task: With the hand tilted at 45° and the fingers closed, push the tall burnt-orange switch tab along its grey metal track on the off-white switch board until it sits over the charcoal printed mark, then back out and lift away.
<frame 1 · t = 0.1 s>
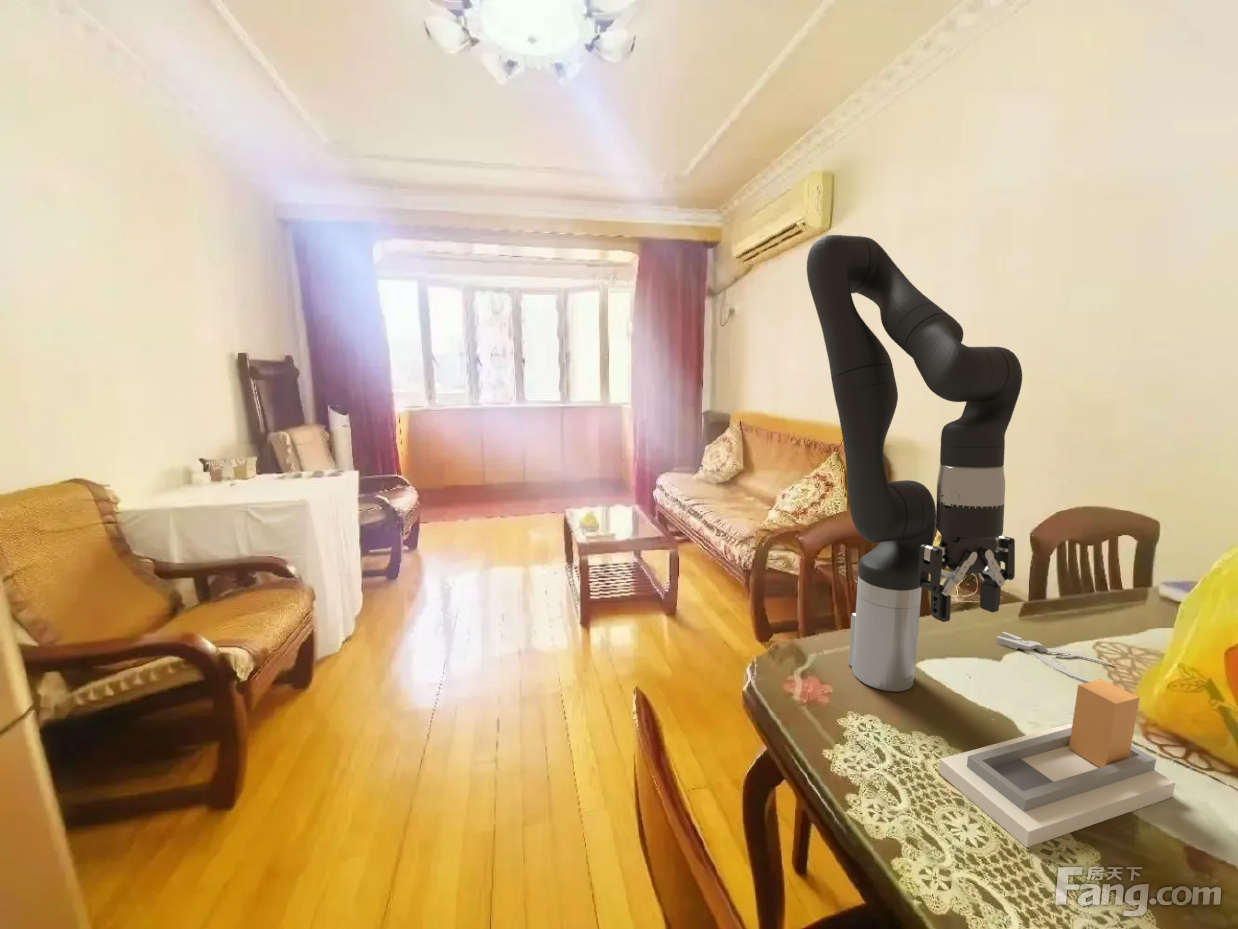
hand: (965, 614, 71), 17 cm above the table, tool pointing down, fingers open, 8 cm apart
switch tab: (1102, 723, 64), point 7 cm above the table, slide at 0.0 cm
switch board: (1051, 784, 64), on the table
pliers: (1048, 659, 91), on the table
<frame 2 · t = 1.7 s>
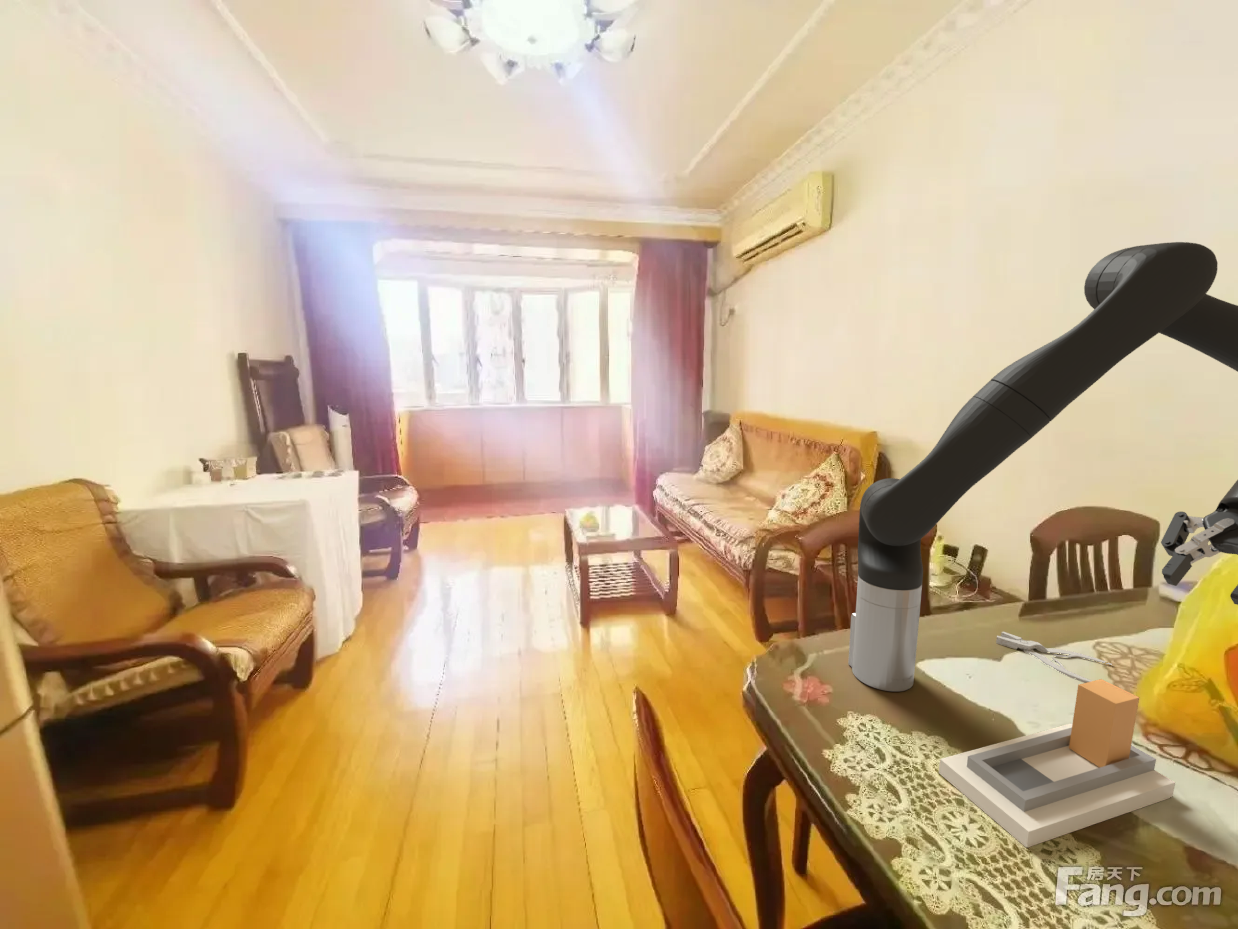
hand: (1201, 590, 65), 22 cm above the table, tool tilted 45°, fingers open, 5 cm apart
nothing on the table moved.
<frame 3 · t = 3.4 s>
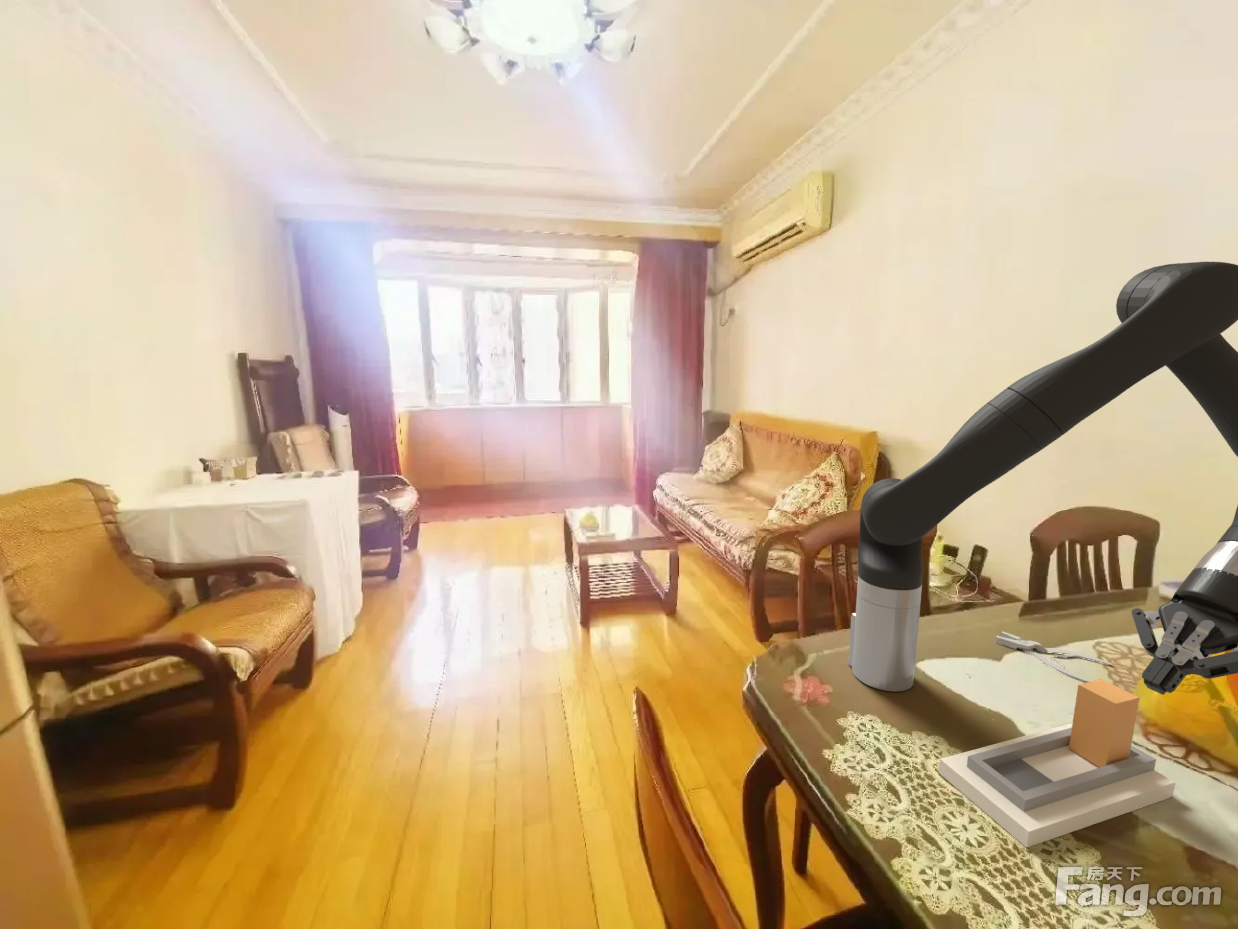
hand: (1153, 688, 66), 10 cm above the table, tool tilted 45°, fingers closed
nothing on the table moved.
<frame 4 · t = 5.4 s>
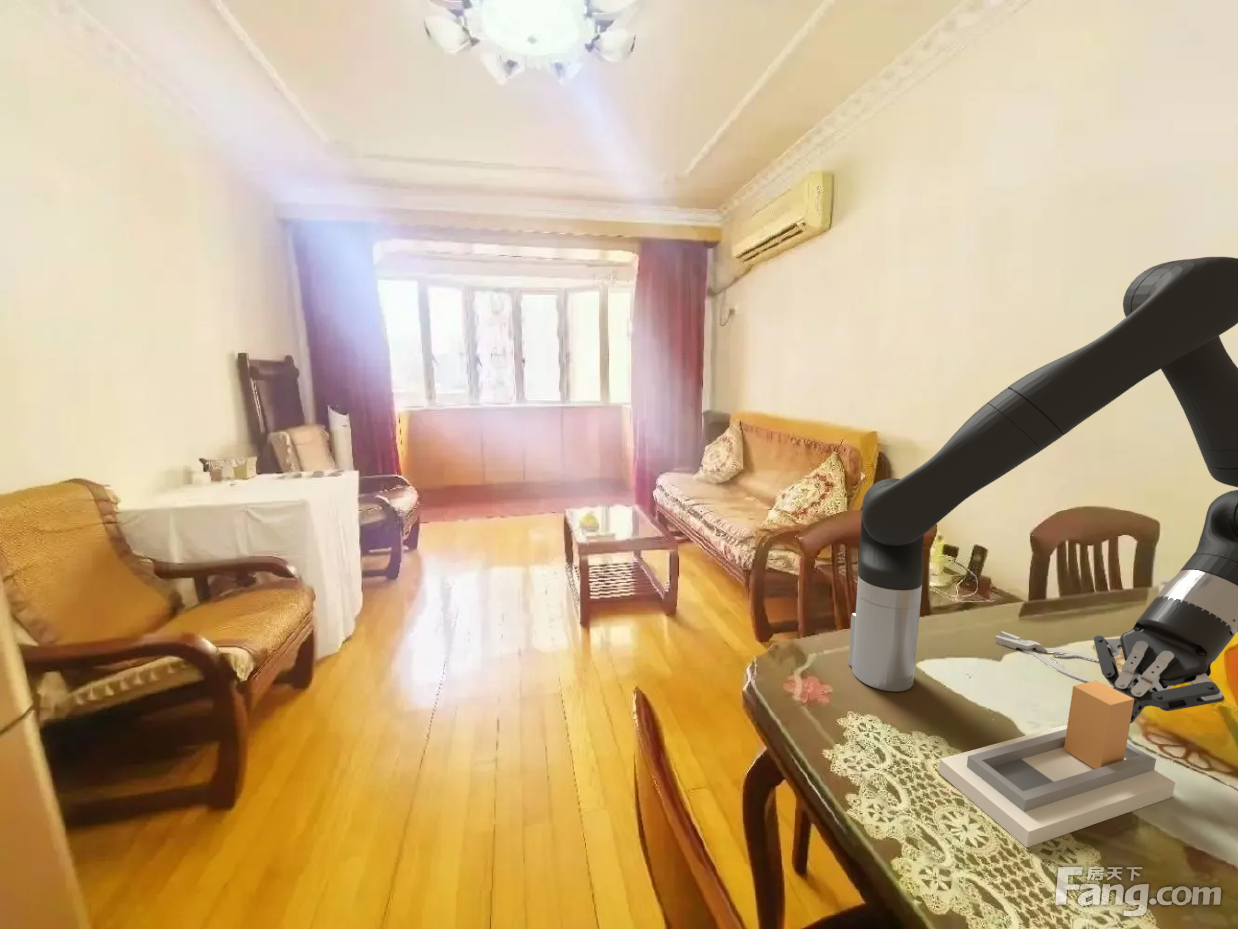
hand: (1111, 719, 65), 7 cm above the table, tool tilted 45°, fingers closed
switch tab: (1097, 725, 64), point 7 cm above the table, slide at 0.9 cm, touching gripper
everything else where it was.
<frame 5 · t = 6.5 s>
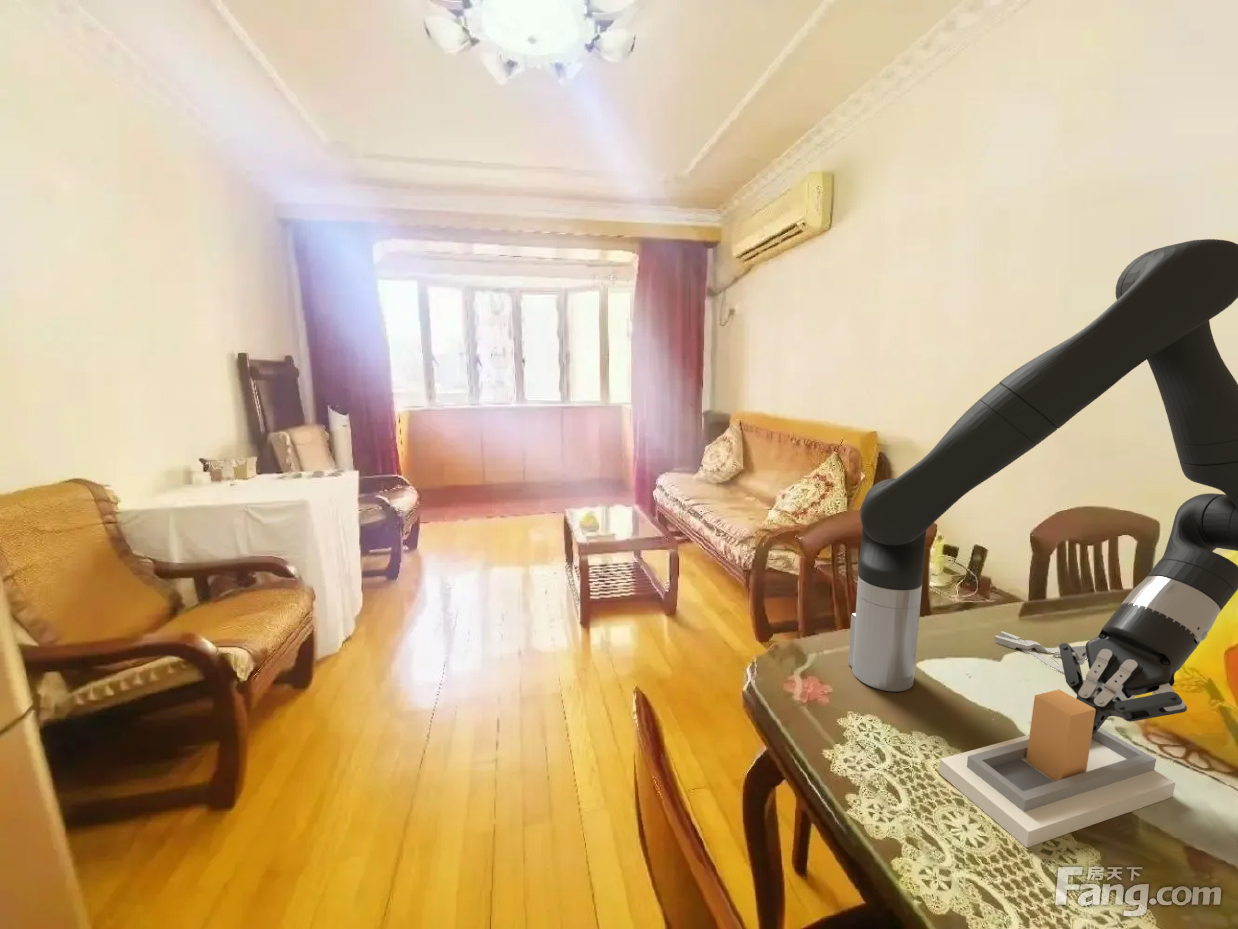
hand: (1074, 729, 63), 7 cm above the table, tool tilted 45°, fingers closed
switch tab: (1059, 735, 63), point 7 cm above the table, slide at 7.3 cm, touching gripper
everything else where it was.
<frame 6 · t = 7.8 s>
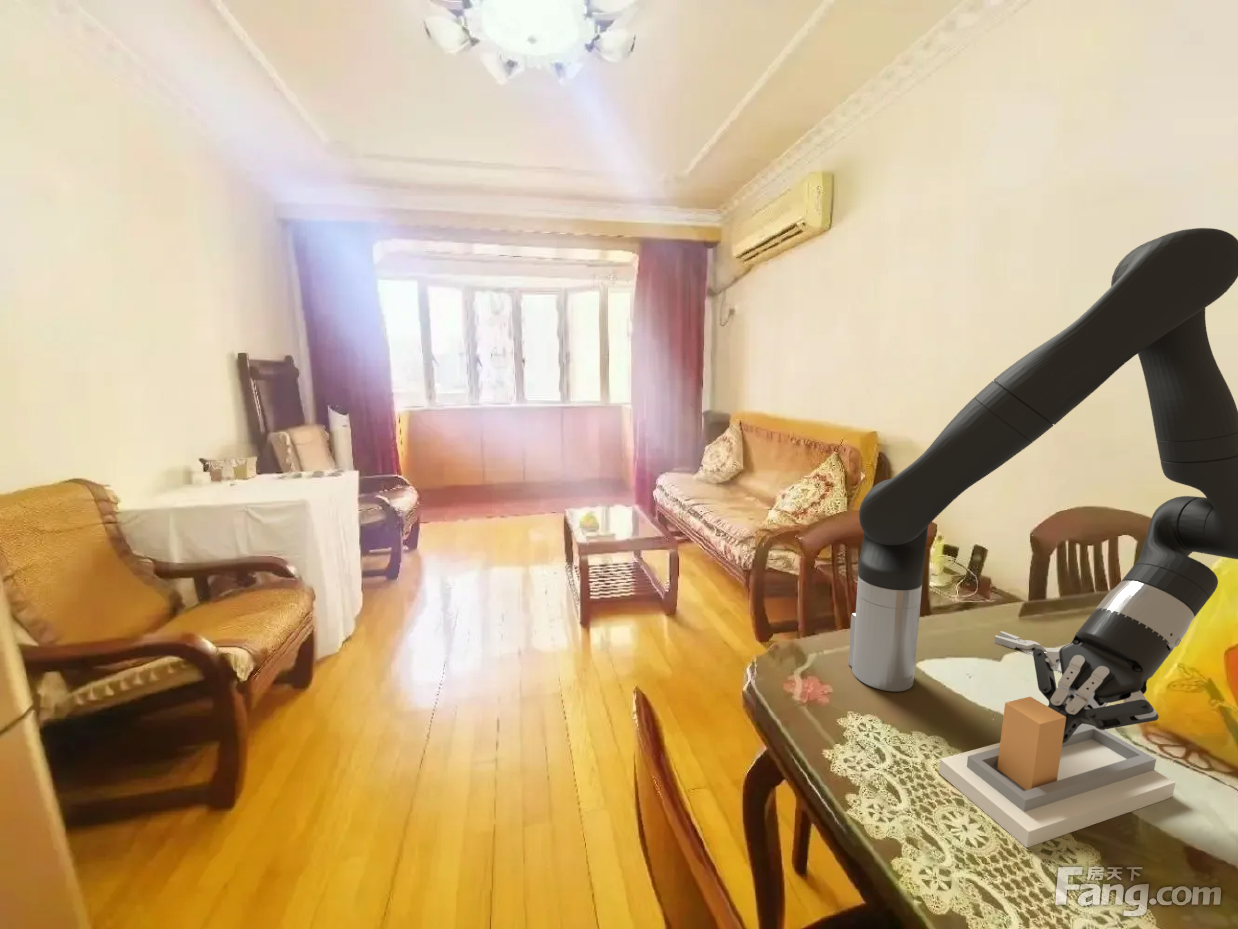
hand: (1046, 738, 62), 7 cm above the table, tool tilted 45°, fingers closed
switch tab: (1030, 743, 61), point 7 cm above the table, slide at 12.0 cm, touching gripper
everything else where it was.
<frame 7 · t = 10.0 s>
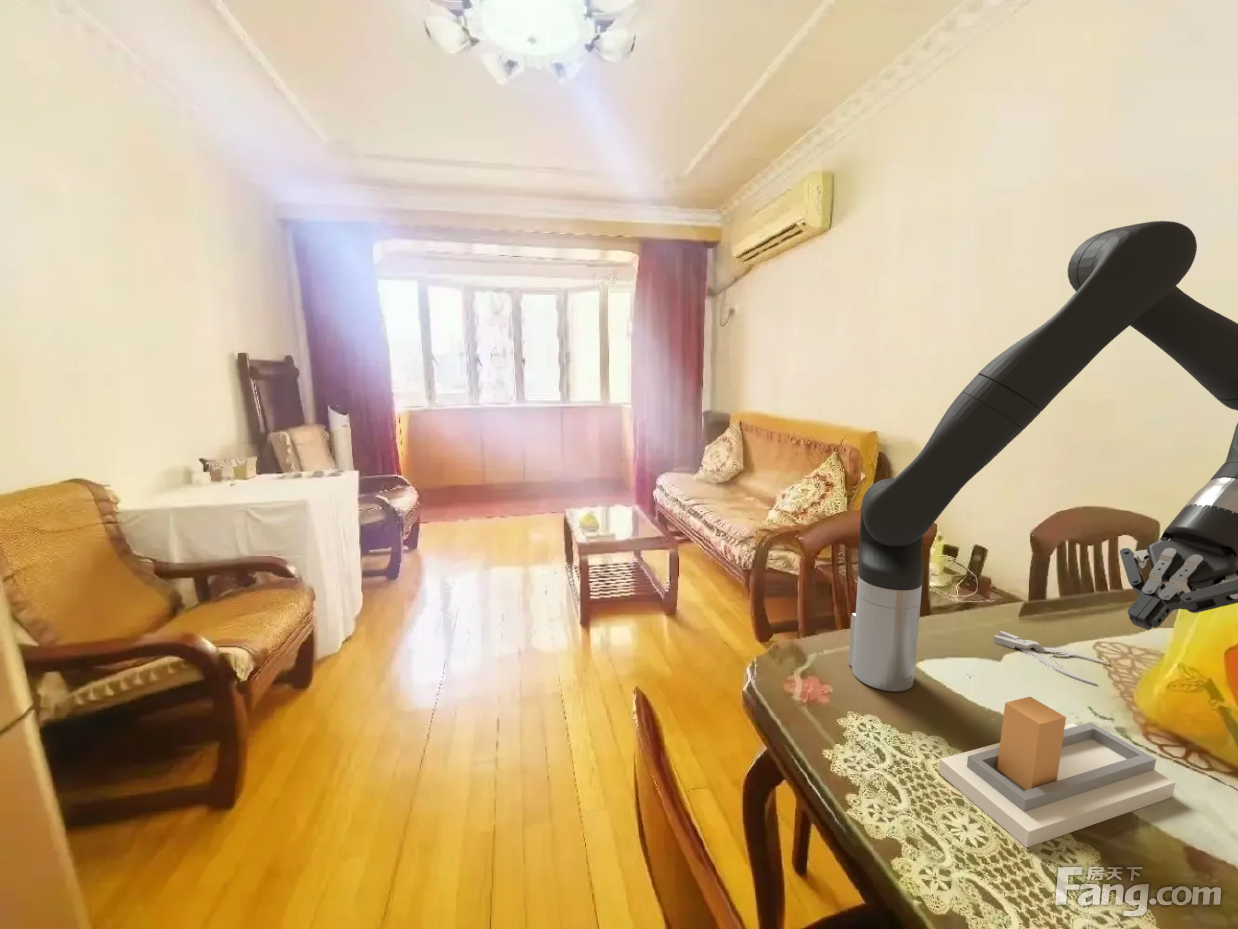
hand: (1138, 624, 65), 19 cm above the table, tool tilted 45°, fingers closed
switch tab: (1030, 743, 61), point 7 cm above the table, slide at 12.0 cm
everything else where it was.
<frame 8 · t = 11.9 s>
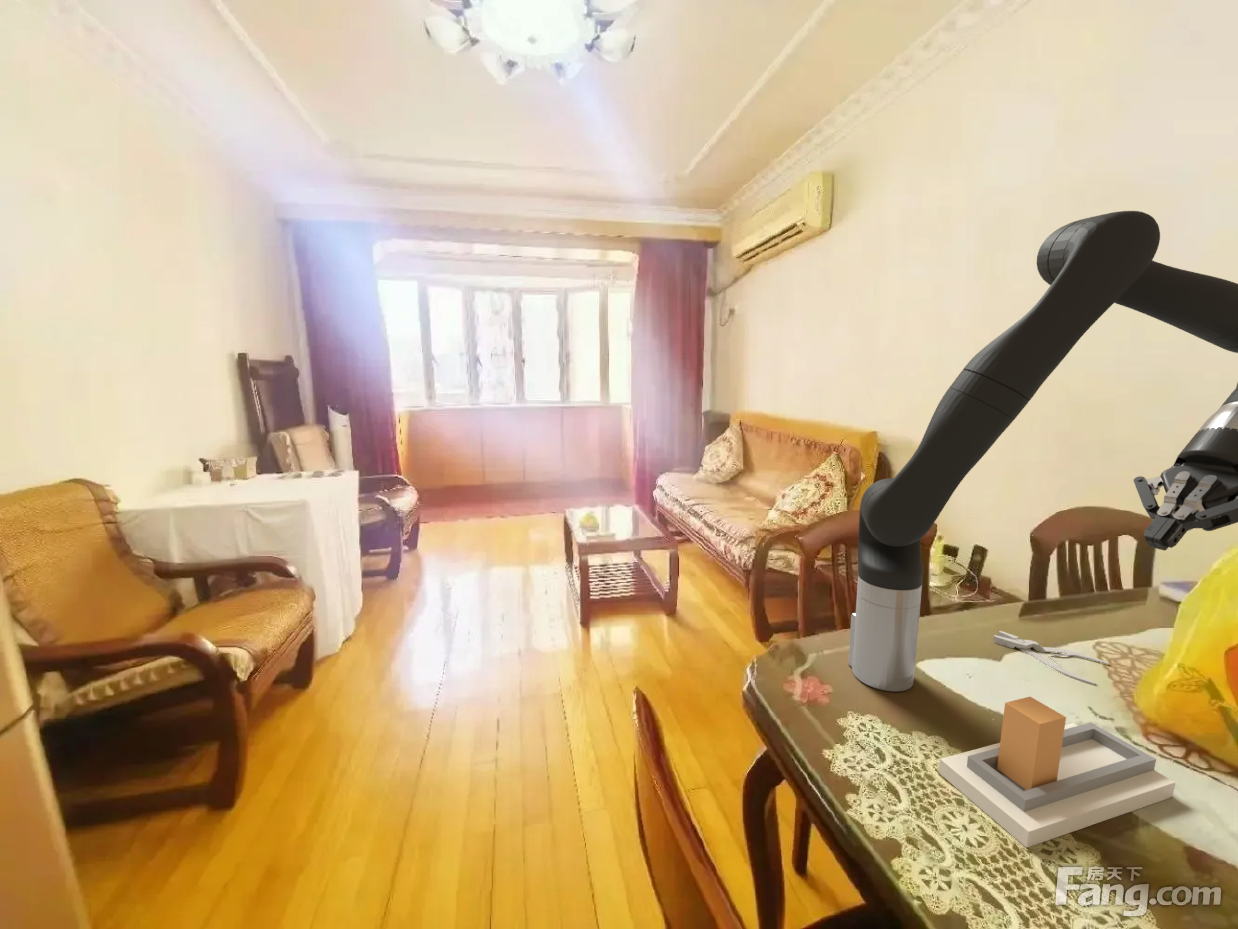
hand: (1154, 545, 66), 28 cm above the table, tool tilted 45°, fingers closed
nothing on the table moved.
at the end: switch tab slide at 12.0 cm; pliers moved 0.8 cm from its start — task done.
